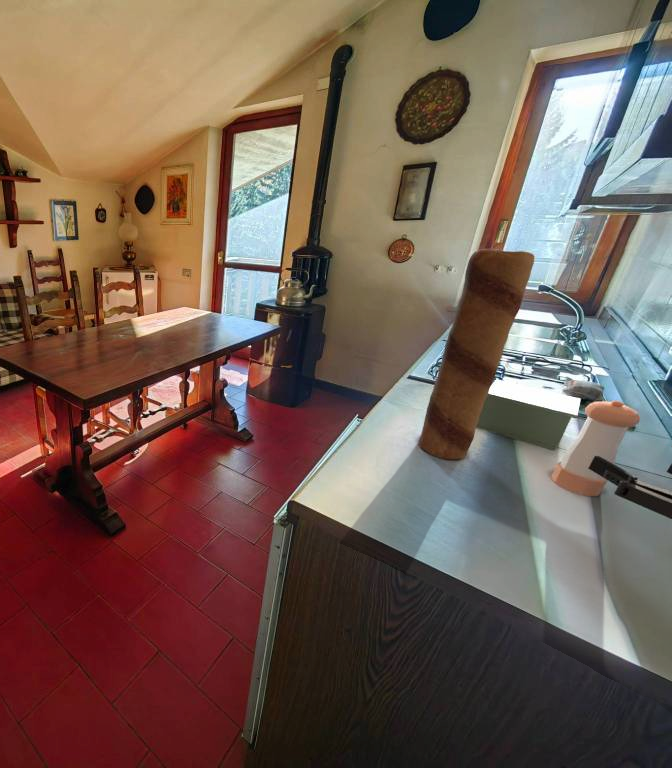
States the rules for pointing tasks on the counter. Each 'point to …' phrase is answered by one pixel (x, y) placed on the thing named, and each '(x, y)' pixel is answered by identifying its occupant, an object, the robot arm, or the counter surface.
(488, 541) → the counter surface
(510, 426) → the green box
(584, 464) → the pepper shaker
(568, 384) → the packaged food
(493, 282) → the wafer roll
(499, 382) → the lid
